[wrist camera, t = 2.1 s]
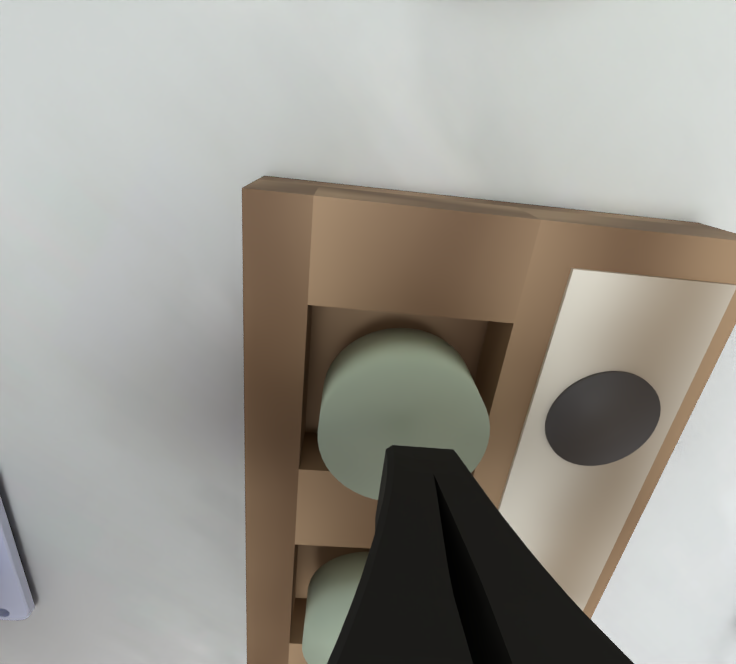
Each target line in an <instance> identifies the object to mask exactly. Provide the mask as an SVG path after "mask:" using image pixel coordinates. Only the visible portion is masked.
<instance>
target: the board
mask: <svg viewBox="0 0 736 664" xmlns="http://www.w3.org/2000/svg"><path fill="white" fill-rule="evenodd" d="M242 233H243V328H244V423H245V517H246V612H247V664H308V663H307V662H306V660H305V658H304V656H303V652H302V641H303V631H304V621H305V612H306V602H307V592H308V586H309V582H310V580H311V578H312V576H313V575H314V573H315V572H316V571H317V570H318V569H319V568H320V567H321V566H323V565H324V564H325V563H327V562H329V561H330V560H332V559H334V558H337V557H339V556H342V555H346V554H350V553H355V552H369V551H370V548H371V544H372V541H373V538H374V535H375V516H376V509H377V503H378V500H375V499H371V498H368V497H365V496H362V495H360V494H358V493H356V492H354V491H352V490H350V489H349V488H347V487H346V486H344V485H343V484H342V483H341V482H339V481H338V480H337V479H336V478H335V477H334V476H333V475H332V474H331V472H330V471H329V470H328V468H327V467H326V465H325V463H324V461H323V459H322V457H321V454H320V451H319V446H318V425H319V417H320V409H321V401H322V393H323V386H324V380H325V377H326V374H327V372H328V370H329V368H330V365H331V364H332V362H333V361H334V359H335V358H336V357H337V356H338V355H339V353H340V352H341V351H342V350H343V349H344V348H346V347H347V346H348V345H349V344H351V343H352V342H354V341H355V340H357V339H358V338H360V337H363V336H365V335H367V334H369V333H372V332H375V331H379V330H383V329H389V328H411V329H418V330H422V331H425V332H428V333H431V334H433V335H436V336H438V337H439V338H441V339H443V340H445V341H446V342H447V343H449V344H450V345H451V346H452V347H453V348H454V349H455V350H456V351H457V352H458V353H459V354H460V356H461V357H462V358H463V360H464V362H465V364H466V366H467V368H468V370H469V372H470V374H471V376H472V379H473V381H474V383H475V385H476V387H477V389H478V392H479V394H480V396H481V398H482V400H483V402H484V405H485V407H486V409H487V413H488V416H489V423H490V436H489V441H488V445H487V448H486V451H485V453H484V455H483V457H482V459H481V461H480V462H479V464H478V465H477V467H476V468H475V469H474V470H473V471H472V473H471V474H472V475H473V477H474V478H475V479H476V481H477V482H478V484H479V485H480V486H481V488H482V489H483V490H484V492H485V493H486V494H487V496H488V497H489V499H490V500H491V501H492V503H493V504H494V505H495V507H496V508H497V509H498V511H499V512H500V513H501V515H502V516H503V517H504V518H505V520H506V521H507V522H508V523H509V525H510V526H511V527H512V529H513V530H514V531H515V532H516V534H517V535H518V536H519V537H520V539H521V540H522V541H523V542H524V544H525V545H526V546H527V548H528V549H529V550H530V551H531V552H532V554H533V555H534V556H535V557H536V558H537V560H538V561H539V562H540V563H541V564H542V566H543V567H544V568H545V569H546V570H547V571H548V573H549V574H550V575H551V576H552V577H553V578H554V580H555V581H556V582H557V583H558V584H559V585H560V586H561V588H562V589H563V590H564V591H565V592H566V593H567V594H568V596H569V597H570V598H571V599H572V600H573V601H574V602H575V603H576V604H577V606H578V607H579V608H580V609H581V610H582V611H583V612H584V613H585V614H586V615H587V616H588V617H589V618H590V619H591V617H592V615H593V613H594V611H595V609H596V607H597V605H598V603H599V601H600V599H601V597H602V595H603V592H604V590H605V588H606V586H607V584H608V582H609V580H610V578H611V576H612V574H613V572H614V570H615V568H616V566H617V564H618V562H619V560H620V558H621V556H622V554H623V552H624V550H625V548H626V546H627V544H628V542H629V540H630V538H631V535H632V533H633V531H634V529H635V527H636V525H637V523H638V521H639V519H640V517H641V515H642V513H643V511H644V509H645V507H646V505H647V503H648V501H649V499H650V497H651V495H652V493H653V491H654V489H655V487H656V485H657V483H658V481H659V478H660V476H661V474H662V472H663V470H664V468H665V466H666V464H667V462H668V460H669V458H670V456H671V454H672V452H673V450H674V448H675V446H676V444H677V442H678V440H679V438H680V436H681V434H682V432H683V430H684V428H685V426H686V424H687V421H688V419H689V417H690V415H691V413H692V411H693V409H694V407H695V405H696V403H697V401H698V399H699V397H700V395H701V393H702V391H703V389H704V387H705V385H706V383H707V381H708V379H709V377H710V375H711V373H712V371H713V369H714V367H715V364H716V362H717V360H718V358H719V356H720V354H721V352H722V350H723V348H724V346H725V344H726V342H727V340H728V338H729V336H730V334H731V332H732V330H733V328H734V326H735V324H736V233H732V232H728V231H725V230H721V229H718V228H714V227H711V226H707V225H704V224H700V223H695V222H685V221H676V220H667V219H658V218H648V217H639V216H630V215H621V214H611V213H602V212H593V211H584V210H575V209H565V208H556V207H547V206H538V205H528V204H519V203H510V202H501V201H492V200H482V199H473V198H464V197H455V196H445V195H436V194H427V193H418V192H409V191H399V190H390V189H381V188H372V187H362V186H353V185H344V184H335V183H325V182H316V181H307V180H298V179H289V178H279V177H270V176H263V177H261V178H259V179H258V180H256V181H254V182H252V183H250V184H248V185H247V186H245V187H243V188H242Z"/></svg>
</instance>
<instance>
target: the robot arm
mask: <svg viewBox="0 0 736 664" xmlns="http://www.w3.org/2000/svg"><path fill="white" fill-rule="evenodd" d="M34 608H35V605H34V602H33V599H32V595H31V592H30V589H29V586H28V583H27V579H26V576H25V573H24V570H23V567H22V563H21V560H20V557H19V554H18V551H17V548H16V544H15V541H14V538H13V535H12V532H11V528H10V525H9V522H8V519H7V516H6V512H5V509H4V506H3V503H2V500H1V496H0V620H24V619H27V618H28V617H29V616H30V614H31V613H32V611H33V610H34ZM327 664H634V663H633V662H632V661H631V660H630V659H629V658H628V657H627V656H626V655H625V654H624V653H623V652H622V651H621V650H620V649H619V648H618V647H617V646H616V645H615V644H614V643H613V642H612V641H611V640H610V639H609V638H608V637H607V636H606V635H605V634H604V633H603V632H602V631H601V630H600V629H599V628H598V627H597V626H596V625H595V624H594V623H593V621H592V620H591V619H590V618H589V617H588V616H587V615H586V614H585V613H584V612H583V611H582V610H581V609H580V608H579V607H578V606H577V604H576V603H575V602H574V601H573V600H572V599H571V598H570V597H569V596H568V594H567V593H566V592H565V591H564V590H563V589H562V588H561V586H560V585H559V584H558V583H557V582H556V581H555V580H554V578H553V577H552V576H551V575H550V574H549V573H548V571H547V570H546V569H545V568H544V567H543V566H542V564H541V563H540V562H539V561H538V560H537V558H536V557H535V556H534V555H533V554H532V552H531V551H530V550H529V549H528V548H527V546H526V545H525V544H524V542H523V541H522V540H521V539H520V537H519V536H518V535H517V534H516V532H515V531H514V530H513V529H512V527H511V526H510V525H509V523H508V522H507V521H506V520H505V518H504V517H503V516H502V515H501V513H500V512H499V511H498V509H497V508H496V507H495V505H494V504H493V503H492V501H491V500H490V499H489V497H488V496H487V494H486V493H485V492H484V490H483V489H482V488H481V486H480V485H479V484H478V482H477V481H476V479H475V478H474V477H473V475H472V474H471V472H470V471H469V470H468V468H467V467H466V465H465V464H464V463H463V461H462V460H461V458H460V457H459V456H458V454H457V453H456V452H455V451H454V449H441V448H427V447H413V446H400V445H392V446H390V447H388V448H387V449H386V451H385V458H384V464H383V471H382V477H381V483H380V490H379V496H378V503H377V509H376V516H375V535H374V538H373V541H372V544H371V548H370V551H369V554H368V557H367V560H366V563H365V566H364V570H363V573H362V576H361V579H360V582H359V584H358V587H357V590H356V593H355V595H354V598H353V601H352V603H351V606H350V609H349V611H348V614H347V616H346V619H345V621H344V624H343V626H342V629H341V632H340V634H339V637H338V639H337V641H336V644H335V646H334V648H333V651H332V653H331V655H330V658H329V660H328V662H327Z"/></svg>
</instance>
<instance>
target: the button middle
mask: <svg viewBox="0 0 736 664" xmlns="http://www.w3.org/2000/svg"><path fill="white" fill-rule="evenodd" d="M368 554H369V552H355V553H350V554H346V555H342V556H339V557H337V558H334V559H332V560H330V561H329V562H327V563H325V564H324V565H323V566H321V567H320V568H319V569H318V570H317V571H316V572H315V573H314V575H313V576H312V578H311V580H310V582H309V586H308V592H307V602H306V612H305V621H304V631H303V641H302V652H303V656H304V658H305V660H306V662H307V663H308V664H327V662H328V660H329V658H330V655H331V653H332V651H333V648H334V646H335V644H336V641H337V639H338V637H339V634H340V632H341V629H342V626H343V624H344V621H345V619H346V616H347V614H348V611H349V609H350V606H351V603H352V601H353V598H354V595H355V593H356V590H357V587H358V584H359V582H360V579H361V576H362V573H363V570H364V566H365V563H366V560H367V557H368Z"/></svg>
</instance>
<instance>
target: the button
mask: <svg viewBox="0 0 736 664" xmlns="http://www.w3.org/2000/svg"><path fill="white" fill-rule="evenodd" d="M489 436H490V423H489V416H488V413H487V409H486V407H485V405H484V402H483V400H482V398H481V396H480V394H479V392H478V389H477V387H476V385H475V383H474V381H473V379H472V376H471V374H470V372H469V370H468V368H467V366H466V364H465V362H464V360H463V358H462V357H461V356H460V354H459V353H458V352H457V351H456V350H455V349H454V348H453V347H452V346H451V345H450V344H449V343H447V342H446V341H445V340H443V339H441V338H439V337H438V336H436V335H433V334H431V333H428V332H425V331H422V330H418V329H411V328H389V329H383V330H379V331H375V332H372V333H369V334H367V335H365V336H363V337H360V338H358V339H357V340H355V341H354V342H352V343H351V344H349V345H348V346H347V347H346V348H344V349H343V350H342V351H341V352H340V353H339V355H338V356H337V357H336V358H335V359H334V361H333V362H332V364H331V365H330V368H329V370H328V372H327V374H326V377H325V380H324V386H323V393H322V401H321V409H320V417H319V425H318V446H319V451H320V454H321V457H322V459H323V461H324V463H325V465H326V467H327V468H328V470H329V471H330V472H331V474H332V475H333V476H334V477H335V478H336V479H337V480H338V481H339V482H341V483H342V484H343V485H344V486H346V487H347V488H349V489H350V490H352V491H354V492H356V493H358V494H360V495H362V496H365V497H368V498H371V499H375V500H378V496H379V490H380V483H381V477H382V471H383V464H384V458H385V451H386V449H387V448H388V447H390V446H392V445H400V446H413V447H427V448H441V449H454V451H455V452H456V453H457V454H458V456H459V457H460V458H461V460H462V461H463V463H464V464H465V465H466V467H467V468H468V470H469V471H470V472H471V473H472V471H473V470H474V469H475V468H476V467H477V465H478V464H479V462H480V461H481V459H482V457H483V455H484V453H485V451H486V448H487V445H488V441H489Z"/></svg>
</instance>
